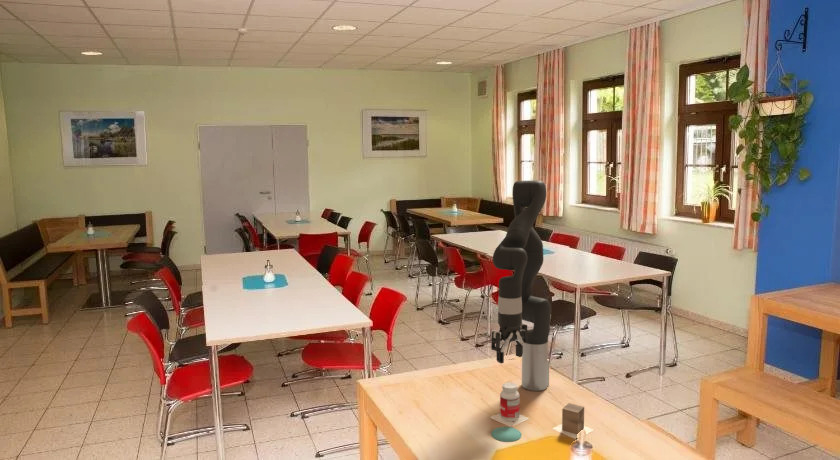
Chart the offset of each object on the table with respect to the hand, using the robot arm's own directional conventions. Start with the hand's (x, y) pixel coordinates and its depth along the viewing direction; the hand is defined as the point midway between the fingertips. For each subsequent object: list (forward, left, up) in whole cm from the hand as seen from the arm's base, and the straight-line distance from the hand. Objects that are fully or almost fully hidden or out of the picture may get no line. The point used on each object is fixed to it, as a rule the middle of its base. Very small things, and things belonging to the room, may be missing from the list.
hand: (509, 359), depth 190 cm
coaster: (+9, +7, -20) cm, 23 cm away
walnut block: (-9, +18, -20) cm, 28 cm away
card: (-9, +18, -20) cm, 28 cm away
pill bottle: (0, 0, -20) cm, 20 cm away
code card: (0, 0, -20) cm, 20 cm away
